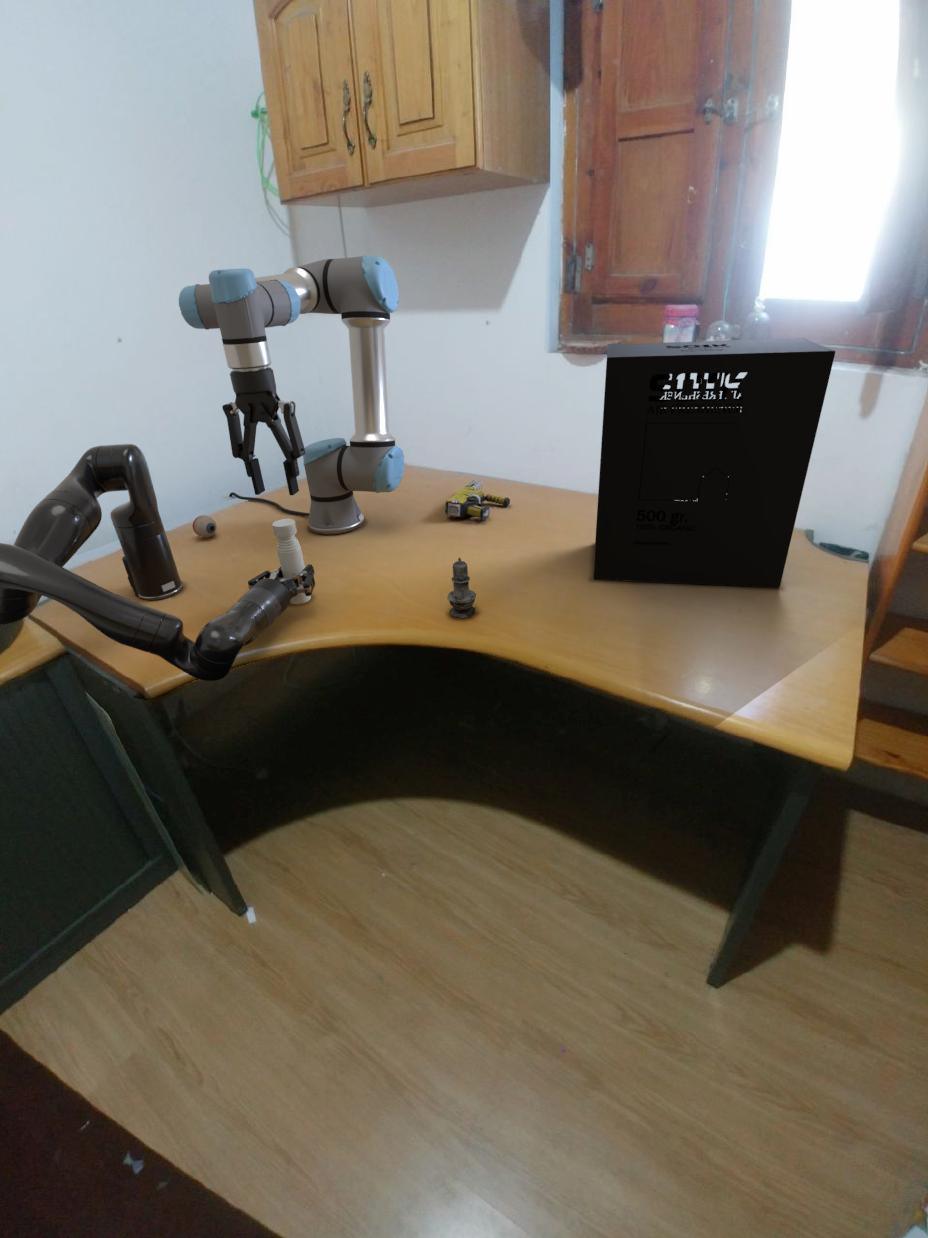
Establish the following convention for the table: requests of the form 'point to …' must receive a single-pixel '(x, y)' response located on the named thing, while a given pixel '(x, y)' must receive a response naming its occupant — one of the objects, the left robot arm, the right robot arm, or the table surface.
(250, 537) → the table surface
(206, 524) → the eyeball
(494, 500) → the toy gun
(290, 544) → the bottle
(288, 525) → the cap
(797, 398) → the cardboard box
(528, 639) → the table surface
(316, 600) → the table surface
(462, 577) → the grey chess piece
